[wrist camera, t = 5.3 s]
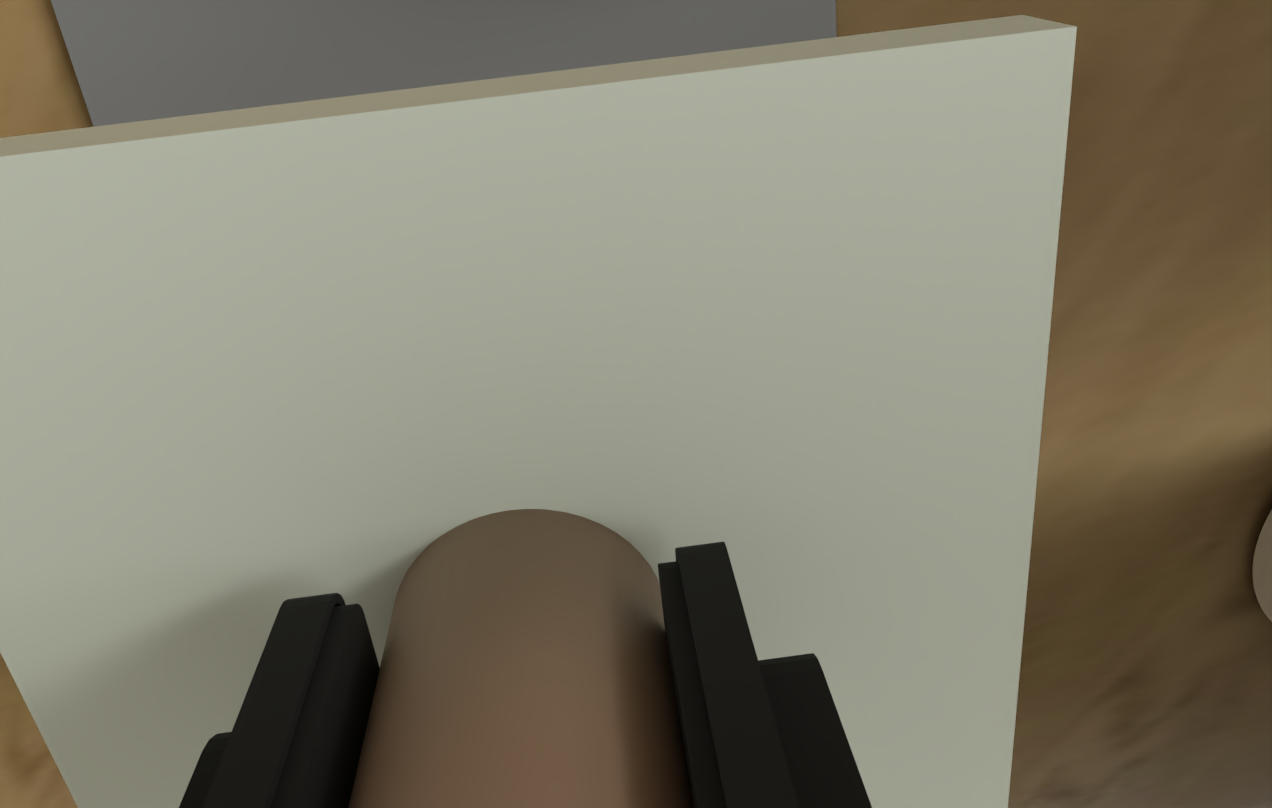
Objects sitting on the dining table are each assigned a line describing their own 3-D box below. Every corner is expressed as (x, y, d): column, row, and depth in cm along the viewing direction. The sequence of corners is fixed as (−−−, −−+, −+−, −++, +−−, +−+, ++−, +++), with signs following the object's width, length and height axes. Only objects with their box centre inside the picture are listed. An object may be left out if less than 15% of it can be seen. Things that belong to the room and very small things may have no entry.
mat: (828, -111, 20) (834, -111, 19) (839, 529, 26) (843, 537, 26) (53, -19, 19) (44, -19, 19) (265, 611, 26) (261, 621, 25)
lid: (1021, 15, 10) (1811, 181, 4) (969, 826, 16) (1263, 1463, 9) (-151, 156, 10) (-1413, 590, 4) (204, 933, 15) (-45, 1668, 9)
